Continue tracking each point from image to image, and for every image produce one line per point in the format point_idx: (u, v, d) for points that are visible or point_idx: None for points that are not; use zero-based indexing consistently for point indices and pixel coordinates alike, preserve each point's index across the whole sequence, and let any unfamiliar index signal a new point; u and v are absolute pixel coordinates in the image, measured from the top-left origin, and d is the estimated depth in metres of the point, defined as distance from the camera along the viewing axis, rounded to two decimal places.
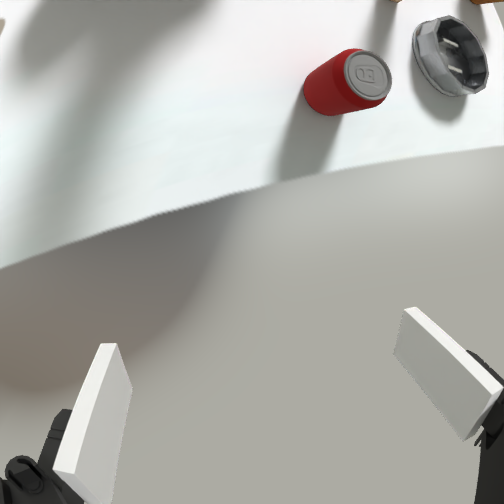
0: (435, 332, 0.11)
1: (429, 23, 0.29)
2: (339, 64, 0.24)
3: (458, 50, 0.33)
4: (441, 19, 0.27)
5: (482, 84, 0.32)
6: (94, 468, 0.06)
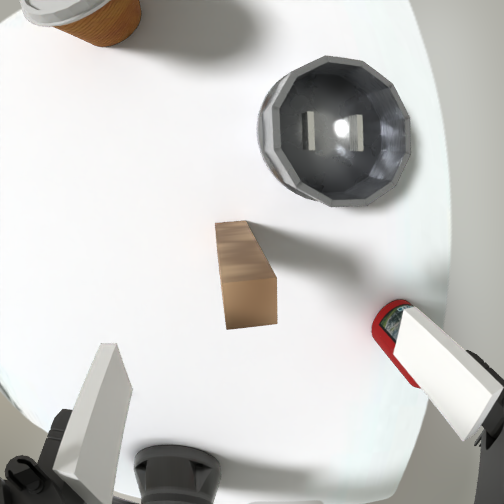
0: (435, 332, 0.11)
1: (295, 187, 0.26)
2: None
3: (302, 94, 0.26)
4: (296, 178, 0.24)
5: (387, 87, 0.22)
6: (94, 468, 0.06)
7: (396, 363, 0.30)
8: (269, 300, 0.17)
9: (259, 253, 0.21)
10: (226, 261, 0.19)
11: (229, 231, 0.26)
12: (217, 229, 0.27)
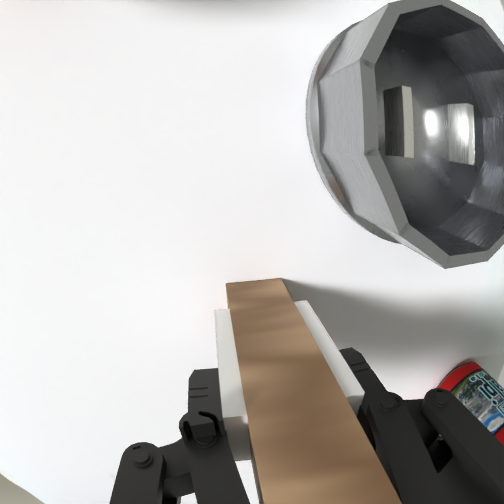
0: (312, 326, 0.12)
1: (383, 228, 0.13)
2: None
3: (382, 57, 0.13)
4: (400, 217, 0.11)
5: None
6: None
7: None
8: None
9: (346, 414, 0.07)
10: (274, 459, 0.06)
11: (257, 313, 0.13)
12: (232, 306, 0.14)
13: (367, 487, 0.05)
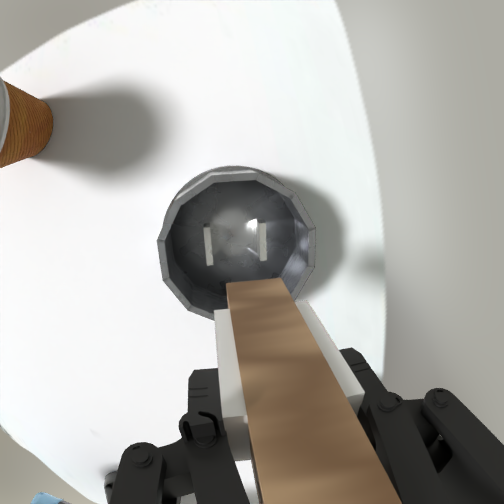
0: (312, 326, 0.12)
1: None
2: None
3: (204, 202, 0.28)
4: (186, 303, 0.26)
5: (288, 197, 0.24)
6: None
7: None
8: None
9: (347, 414, 0.07)
10: (274, 459, 0.06)
11: (257, 313, 0.13)
12: (233, 305, 0.14)
13: (367, 487, 0.05)
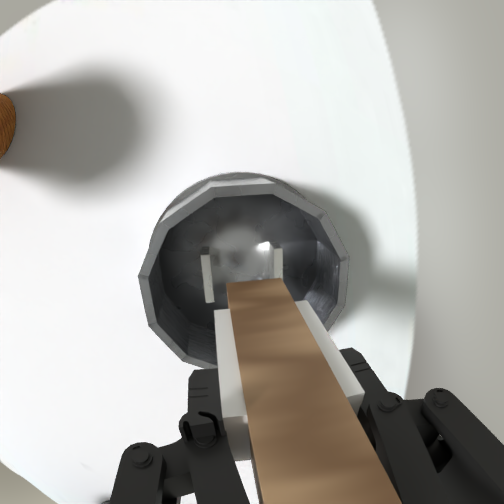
0: (312, 326, 0.12)
1: None
2: None
3: (201, 220, 0.21)
4: (180, 353, 0.19)
5: (316, 217, 0.18)
6: None
7: None
8: None
9: (346, 414, 0.07)
10: (274, 459, 0.06)
11: (257, 313, 0.13)
12: (233, 305, 0.14)
13: (367, 487, 0.05)
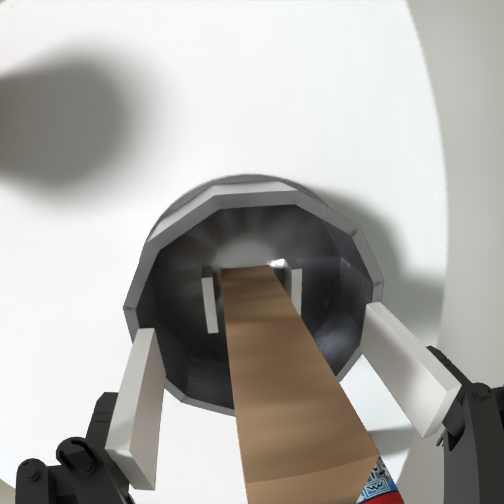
0: (395, 327, 0.12)
1: None
2: None
3: (201, 233, 0.17)
4: (178, 394, 0.15)
5: (347, 234, 0.14)
6: (143, 446, 0.08)
7: None
8: (350, 486, 0.05)
9: (316, 358, 0.09)
10: (249, 388, 0.08)
11: (246, 289, 0.15)
12: (224, 284, 0.16)
13: (333, 414, 0.07)
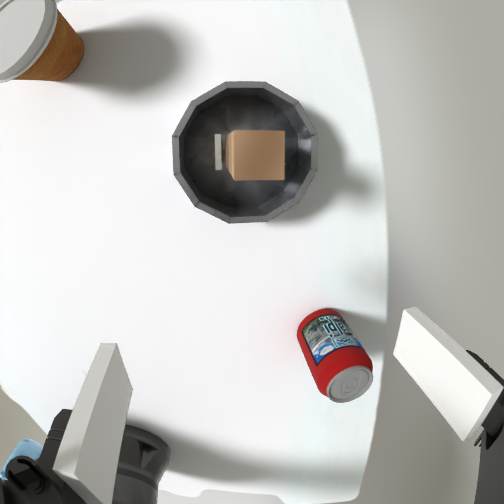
0: (435, 332, 0.11)
1: None
2: None
3: (216, 116, 0.29)
4: (194, 198, 0.27)
5: (292, 105, 0.25)
6: (94, 468, 0.06)
7: None
8: (277, 152, 0.17)
9: None
10: None
11: None
12: None
13: None
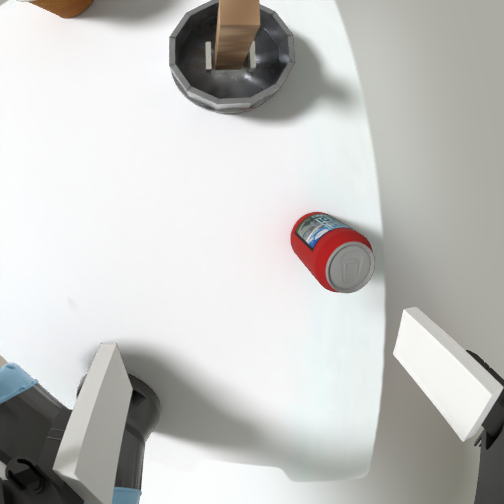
0: (435, 332, 0.11)
1: (193, 96, 0.29)
2: (338, 291, 0.30)
3: (206, 33, 0.29)
4: (186, 84, 0.27)
5: (270, 15, 0.25)
6: (94, 468, 0.06)
7: (307, 264, 0.33)
8: (253, 8, 0.17)
9: None
10: None
11: None
12: None
13: None
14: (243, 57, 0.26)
